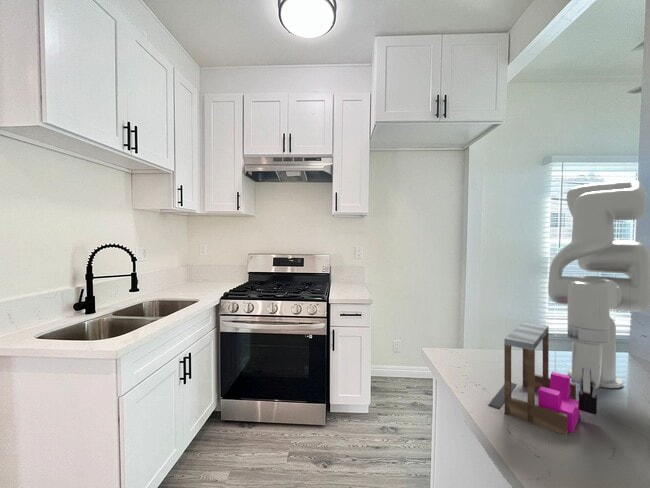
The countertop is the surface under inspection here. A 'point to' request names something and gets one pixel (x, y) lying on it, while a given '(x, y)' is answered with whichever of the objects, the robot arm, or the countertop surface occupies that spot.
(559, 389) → the toy block
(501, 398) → the dark grey flat bar
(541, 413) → the tunnel
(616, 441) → the countertop surface
